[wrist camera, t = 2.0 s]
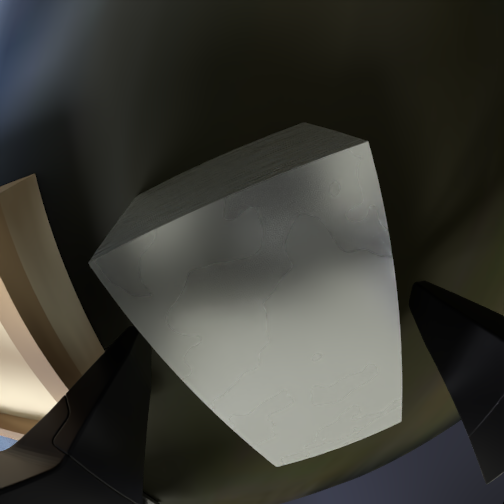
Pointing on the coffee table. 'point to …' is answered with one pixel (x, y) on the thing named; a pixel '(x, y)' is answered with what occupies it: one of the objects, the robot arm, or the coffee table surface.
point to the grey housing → (270, 289)
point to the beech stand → (36, 314)
